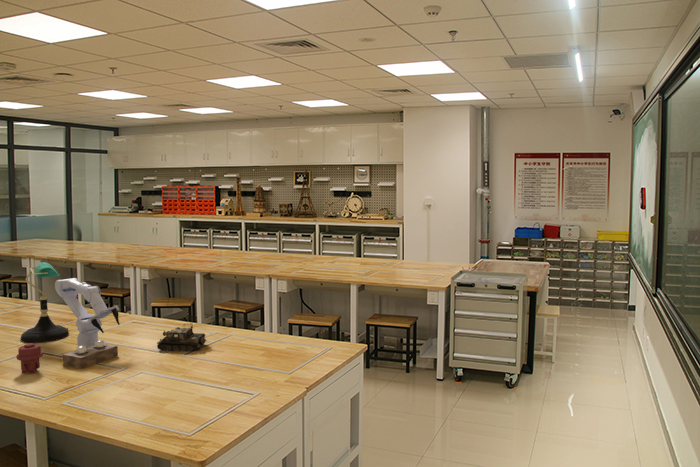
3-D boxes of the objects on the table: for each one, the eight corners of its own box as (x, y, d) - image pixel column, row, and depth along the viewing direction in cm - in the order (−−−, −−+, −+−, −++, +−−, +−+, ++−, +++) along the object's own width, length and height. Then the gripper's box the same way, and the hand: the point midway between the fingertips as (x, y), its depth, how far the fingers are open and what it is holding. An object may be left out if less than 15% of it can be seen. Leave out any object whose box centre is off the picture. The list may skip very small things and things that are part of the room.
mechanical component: (32, 366, 236) (49, 369, 233) (11, 374, 227) (28, 376, 223) (31, 340, 235) (47, 342, 232) (10, 346, 226) (27, 348, 222)
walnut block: (63, 365, 239) (62, 354, 238) (99, 352, 257) (99, 342, 256) (81, 368, 234) (81, 357, 233) (117, 356, 252) (117, 345, 252)
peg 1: (74, 357, 239) (74, 347, 239) (82, 355, 243) (82, 345, 243) (80, 358, 238) (80, 348, 237) (88, 356, 242) (88, 346, 241)
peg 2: (93, 351, 249) (93, 341, 248) (100, 349, 252) (100, 339, 252) (99, 352, 247) (99, 342, 247) (106, 350, 251) (106, 340, 250)
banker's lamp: (71, 339, 280) (68, 265, 277) (21, 346, 267) (17, 269, 264) (66, 328, 302) (63, 260, 299) (19, 334, 289) (15, 263, 286)
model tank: (166, 344, 273) (165, 315, 272) (208, 344, 272) (207, 316, 271) (156, 351, 260) (155, 322, 259) (200, 352, 259) (199, 322, 258)
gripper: (81, 310, 248) (93, 332, 243) (111, 295, 255) (123, 316, 249) (85, 316, 254) (97, 338, 249) (115, 302, 260) (126, 322, 255)
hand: (110, 328), depth 249 cm, fingers open, 7 cm apart
